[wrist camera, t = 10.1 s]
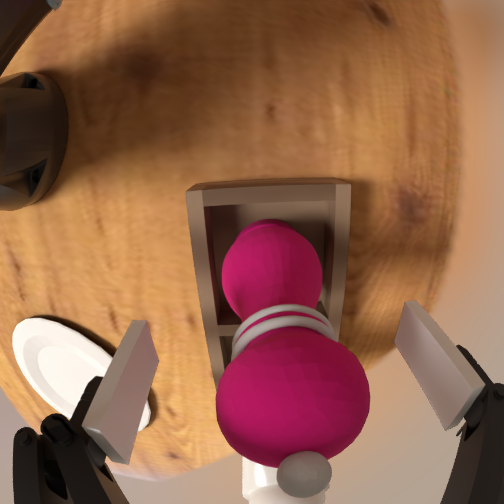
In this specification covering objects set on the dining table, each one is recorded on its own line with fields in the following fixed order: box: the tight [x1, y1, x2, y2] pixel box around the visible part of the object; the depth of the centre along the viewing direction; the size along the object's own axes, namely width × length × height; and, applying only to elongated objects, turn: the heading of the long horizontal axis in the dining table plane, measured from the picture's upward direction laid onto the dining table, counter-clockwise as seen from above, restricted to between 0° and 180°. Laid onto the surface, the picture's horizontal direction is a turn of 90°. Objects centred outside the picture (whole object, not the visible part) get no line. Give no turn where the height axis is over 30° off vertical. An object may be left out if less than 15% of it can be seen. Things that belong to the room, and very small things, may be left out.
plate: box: [13, 317, 151, 432], centre depth 33 cm, size 25×25×2 cm
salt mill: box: [242, 457, 329, 504], centre depth 19 cm, size 6×6×20 cm
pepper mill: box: [216, 219, 370, 498], centre depth 15 cm, size 7×7×20 cm
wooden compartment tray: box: [185, 178, 351, 391], centre depth 26 cm, size 24×12×4 cm, turn 3°
